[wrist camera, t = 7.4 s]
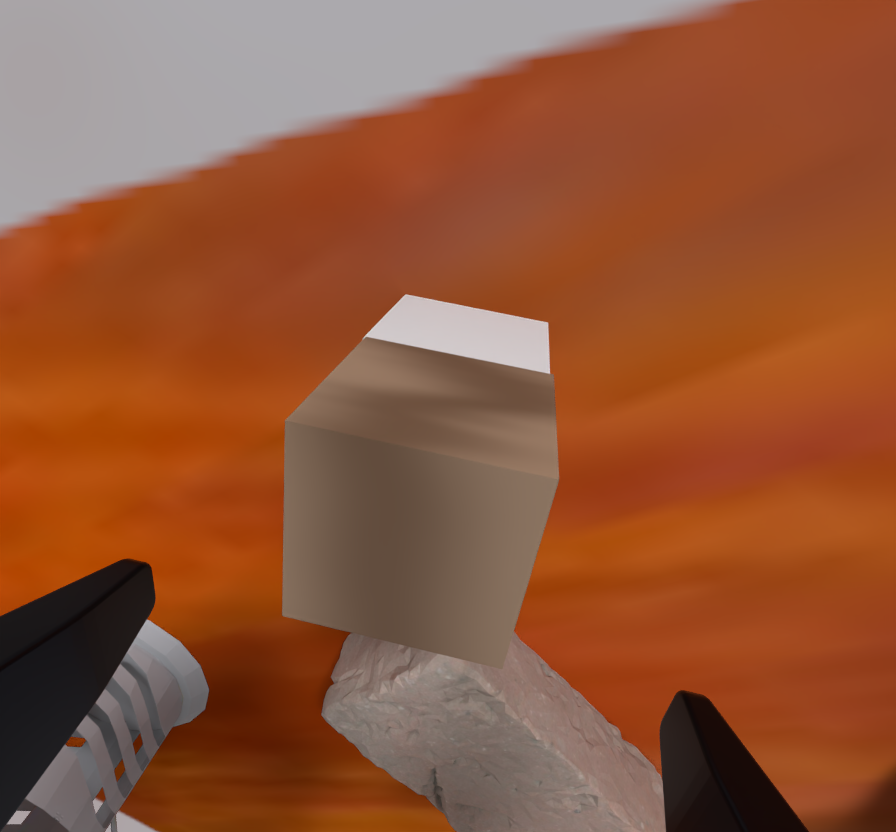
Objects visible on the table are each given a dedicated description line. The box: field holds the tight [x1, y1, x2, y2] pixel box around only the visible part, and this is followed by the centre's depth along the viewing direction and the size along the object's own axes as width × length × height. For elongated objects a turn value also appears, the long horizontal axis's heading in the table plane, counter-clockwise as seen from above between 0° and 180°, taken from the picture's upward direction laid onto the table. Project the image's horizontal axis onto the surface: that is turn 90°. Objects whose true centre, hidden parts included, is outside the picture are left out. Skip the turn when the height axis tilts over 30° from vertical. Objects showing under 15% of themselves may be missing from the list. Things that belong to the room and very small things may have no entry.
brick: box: [321, 632, 666, 832], centre depth 25 cm, size 16×8×5 cm, turn 42°
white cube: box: [363, 294, 550, 374], centre depth 17 cm, size 5×5×5 cm
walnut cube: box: [282, 337, 559, 669], centre depth 13 cm, size 5×5×5 cm
